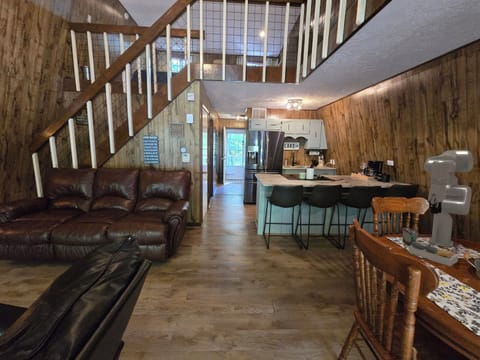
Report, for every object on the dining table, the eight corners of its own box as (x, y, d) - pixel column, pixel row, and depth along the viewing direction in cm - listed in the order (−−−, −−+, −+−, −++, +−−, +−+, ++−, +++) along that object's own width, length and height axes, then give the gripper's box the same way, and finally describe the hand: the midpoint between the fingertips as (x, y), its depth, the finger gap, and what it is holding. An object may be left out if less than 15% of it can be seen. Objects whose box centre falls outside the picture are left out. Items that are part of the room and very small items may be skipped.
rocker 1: (413, 243, 141) (414, 241, 141) (424, 248, 137) (425, 246, 136) (410, 245, 139) (411, 242, 139) (420, 250, 135) (421, 247, 134)
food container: (421, 249, 145) (422, 234, 144) (410, 248, 146) (412, 233, 145) (411, 241, 157) (412, 228, 156) (401, 241, 158) (402, 227, 157)
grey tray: (416, 249, 145) (416, 243, 144) (457, 262, 128) (458, 255, 127) (408, 252, 140) (409, 246, 140) (450, 266, 123) (450, 259, 122)
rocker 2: (426, 247, 136) (427, 244, 135) (437, 252, 131) (438, 250, 131) (422, 249, 134) (423, 246, 133) (434, 254, 129) (435, 251, 128)
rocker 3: (440, 253, 130) (440, 250, 130) (453, 255, 125) (452, 252, 125) (437, 255, 128) (436, 252, 128) (450, 257, 123) (449, 253, 123)
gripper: (437, 180, 136) (434, 209, 138) (424, 182, 128) (421, 213, 130) (453, 181, 129) (450, 212, 132) (441, 184, 121) (437, 216, 123)
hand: (435, 212), depth 131 cm, fingers open, 3 cm apart
